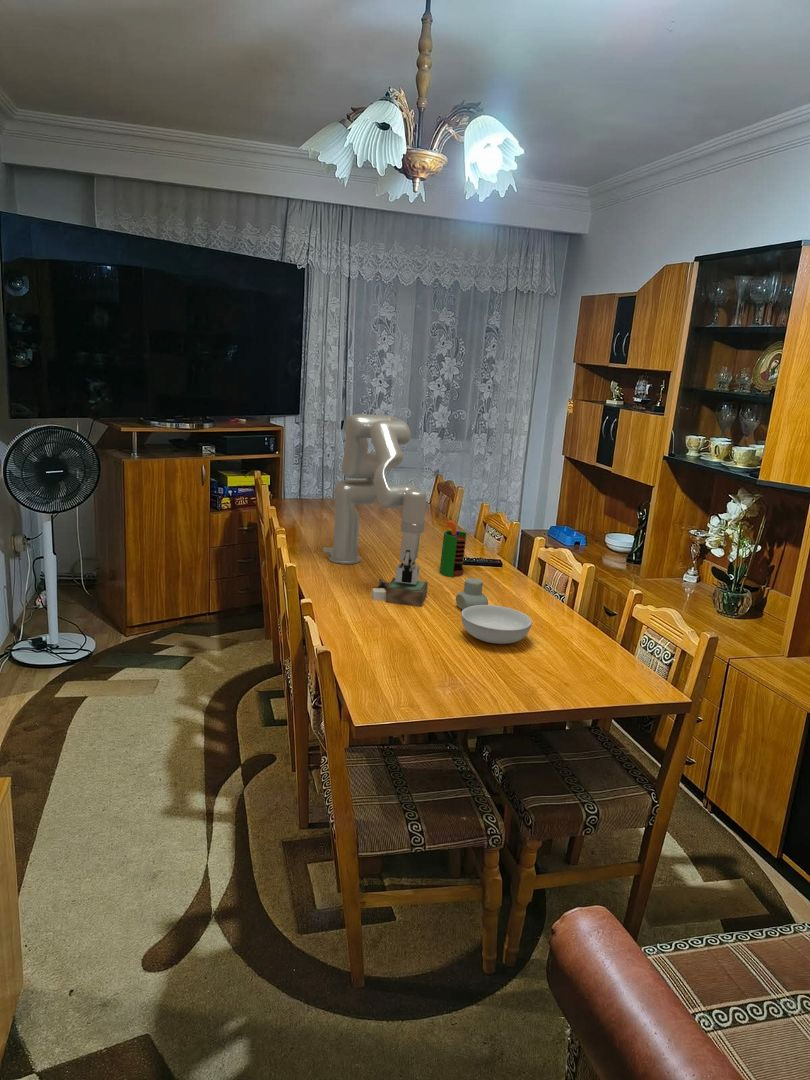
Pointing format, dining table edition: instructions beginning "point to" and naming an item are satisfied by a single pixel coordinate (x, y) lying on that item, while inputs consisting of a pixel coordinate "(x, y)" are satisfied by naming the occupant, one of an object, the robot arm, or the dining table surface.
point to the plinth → (406, 593)
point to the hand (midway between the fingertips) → (407, 579)
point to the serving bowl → (495, 623)
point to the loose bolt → (383, 583)
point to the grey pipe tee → (471, 594)
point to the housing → (414, 573)
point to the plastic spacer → (378, 594)
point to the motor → (452, 551)
